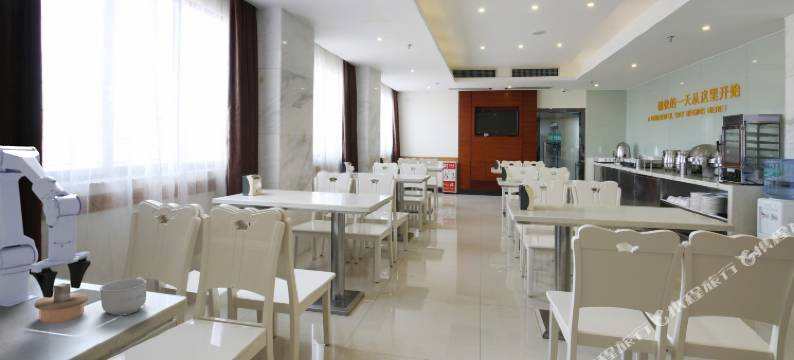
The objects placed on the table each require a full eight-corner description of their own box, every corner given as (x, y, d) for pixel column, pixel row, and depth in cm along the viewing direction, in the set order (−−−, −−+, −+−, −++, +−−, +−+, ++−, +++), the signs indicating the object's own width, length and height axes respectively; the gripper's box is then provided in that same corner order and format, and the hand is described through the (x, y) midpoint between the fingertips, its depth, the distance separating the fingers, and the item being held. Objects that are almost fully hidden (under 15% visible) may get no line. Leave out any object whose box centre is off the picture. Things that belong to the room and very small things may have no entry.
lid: (22, 306, 106) (22, 289, 105) (63, 293, 116) (64, 276, 116) (60, 311, 104) (60, 293, 104) (98, 297, 115) (98, 280, 114)
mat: (39, 303, 118) (39, 302, 118) (81, 289, 131) (81, 288, 131) (79, 309, 116) (79, 307, 116) (117, 294, 129) (117, 293, 129)
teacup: (123, 321, 110) (124, 291, 109) (89, 316, 112) (89, 286, 111) (163, 303, 123) (163, 277, 123) (131, 299, 125) (132, 273, 125)
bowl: (30, 321, 107) (30, 305, 106) (63, 308, 115) (63, 294, 115) (60, 325, 105) (60, 309, 105) (91, 312, 114) (91, 298, 114)
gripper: (48, 248, 101) (47, 303, 102) (99, 237, 116) (99, 285, 116) (23, 245, 102) (23, 300, 103) (78, 235, 117) (77, 283, 118)
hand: (62, 292), depth 110 cm, fingers open, 7 cm apart
